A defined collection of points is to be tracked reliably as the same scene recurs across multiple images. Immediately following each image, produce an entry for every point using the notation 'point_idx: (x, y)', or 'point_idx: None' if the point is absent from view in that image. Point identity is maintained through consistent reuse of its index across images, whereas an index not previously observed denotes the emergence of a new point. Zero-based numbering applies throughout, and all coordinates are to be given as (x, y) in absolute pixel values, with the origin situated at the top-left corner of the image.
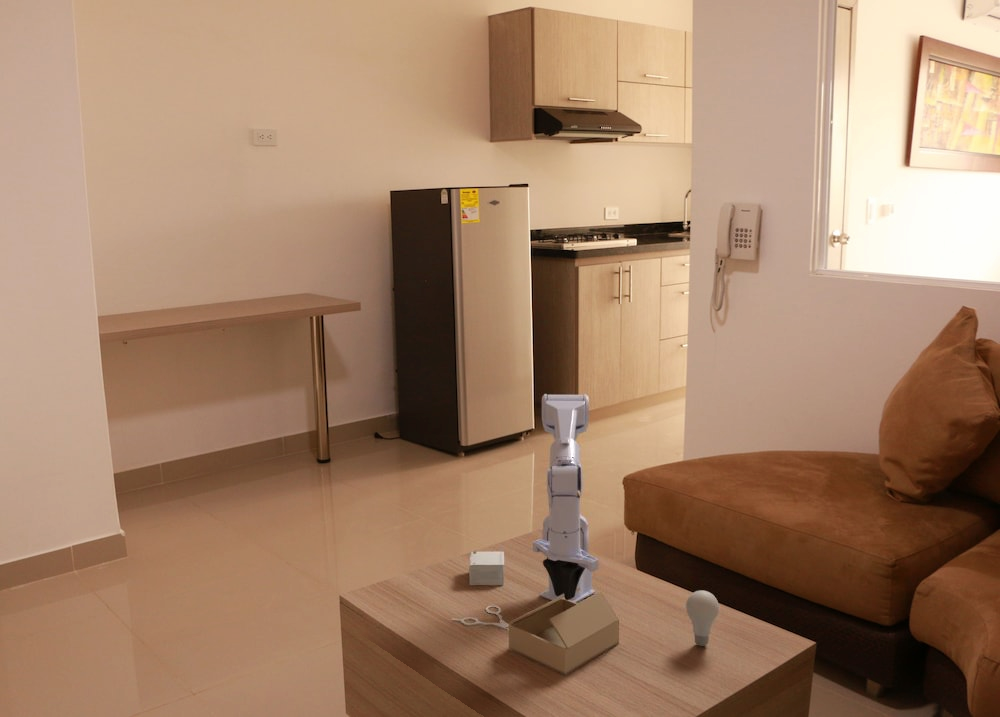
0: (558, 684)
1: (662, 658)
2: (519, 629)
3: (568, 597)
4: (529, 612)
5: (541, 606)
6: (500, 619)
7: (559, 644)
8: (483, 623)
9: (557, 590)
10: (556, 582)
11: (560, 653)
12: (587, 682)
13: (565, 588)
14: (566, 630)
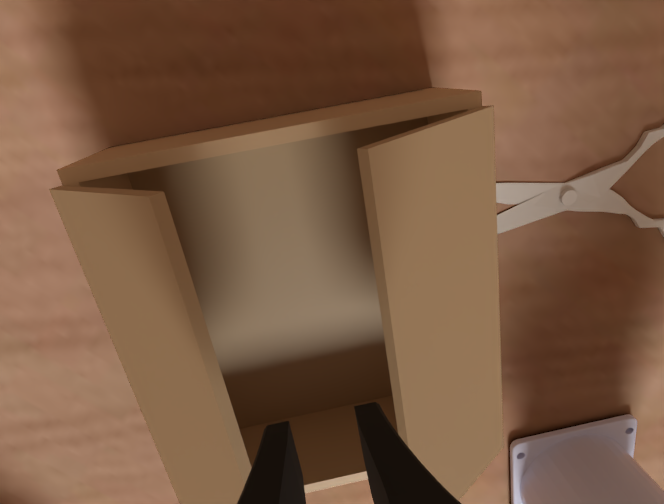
0: (62, 78)
1: (51, 486)
2: (404, 111)
3: (261, 444)
4: (420, 199)
5: (423, 297)
6: (627, 208)
7: (318, 271)
8: (659, 130)
9: (361, 436)
10: (382, 487)
11: (102, 158)
12: (19, 191)
13: (264, 489)
14: (112, 254)
